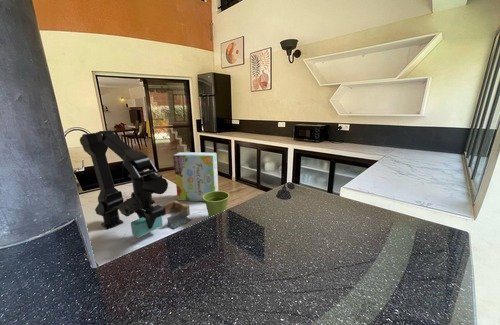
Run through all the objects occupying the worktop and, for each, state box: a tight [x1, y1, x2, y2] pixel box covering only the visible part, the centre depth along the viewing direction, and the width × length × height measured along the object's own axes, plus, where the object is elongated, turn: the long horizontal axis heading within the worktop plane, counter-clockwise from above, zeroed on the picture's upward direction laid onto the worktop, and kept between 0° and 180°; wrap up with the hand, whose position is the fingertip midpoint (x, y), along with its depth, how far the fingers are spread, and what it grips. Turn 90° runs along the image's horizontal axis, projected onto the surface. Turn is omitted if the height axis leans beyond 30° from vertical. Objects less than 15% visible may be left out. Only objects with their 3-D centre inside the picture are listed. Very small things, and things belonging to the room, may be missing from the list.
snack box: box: [172, 151, 219, 202], centre depth 114 cm, size 22×9×26 cm, turn 84°
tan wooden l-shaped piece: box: [161, 199, 191, 217], centre depth 96 cm, size 11×16×4 cm
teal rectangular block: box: [130, 216, 164, 239], centre depth 81 cm, size 4×10×5 cm, turn 145°
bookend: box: [166, 210, 192, 230], centre depth 92 cm, size 4×9×4 cm, turn 145°
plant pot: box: [203, 190, 230, 218], centre depth 95 cm, size 12×12×11 cm
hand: (147, 226), depth 81 cm, fingers closed on teal rectangular block, 4 cm apart
